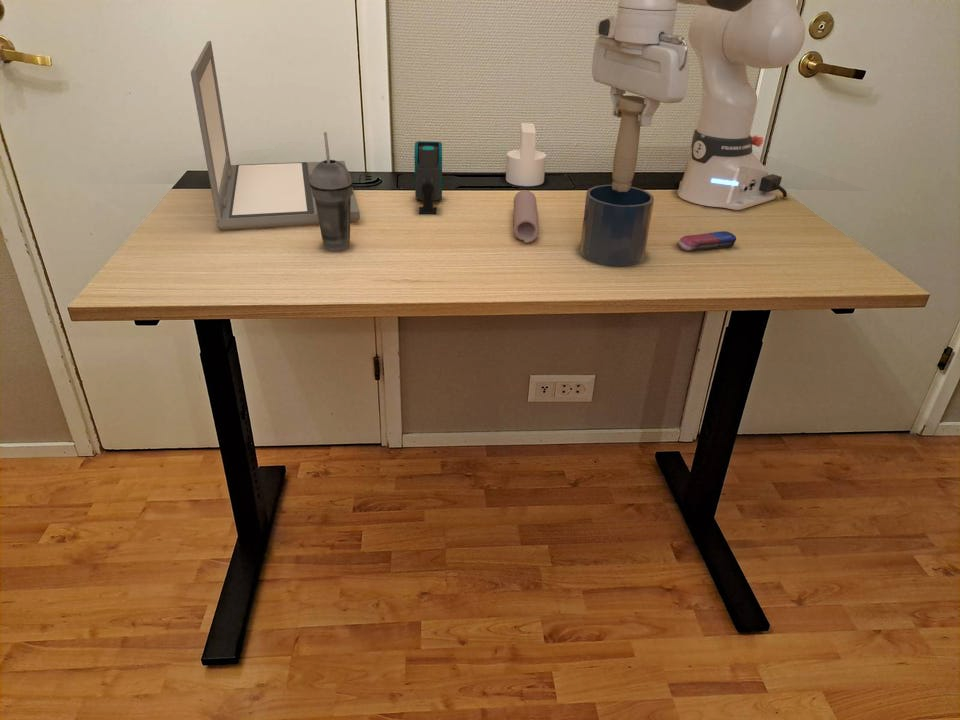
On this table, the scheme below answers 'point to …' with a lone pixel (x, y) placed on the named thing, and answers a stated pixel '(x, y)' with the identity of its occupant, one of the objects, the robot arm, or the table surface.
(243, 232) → the table surface
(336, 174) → the beverage cup
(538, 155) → the cylinder with rectangular tab
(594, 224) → the open cylindrical bucket
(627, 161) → the handle
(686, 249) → the eraser
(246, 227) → the laptop
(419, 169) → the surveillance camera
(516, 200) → the coil
